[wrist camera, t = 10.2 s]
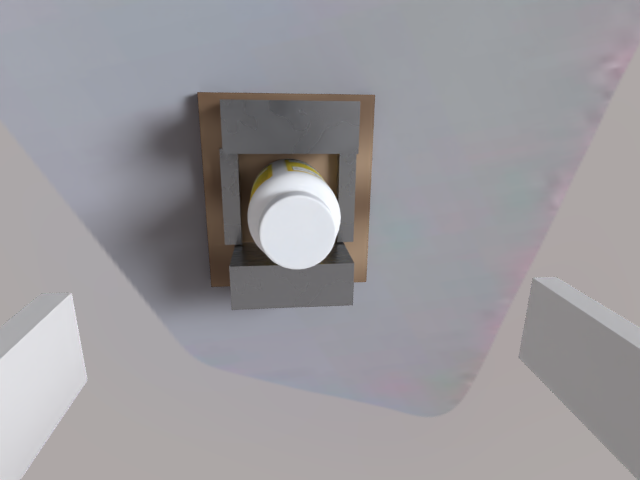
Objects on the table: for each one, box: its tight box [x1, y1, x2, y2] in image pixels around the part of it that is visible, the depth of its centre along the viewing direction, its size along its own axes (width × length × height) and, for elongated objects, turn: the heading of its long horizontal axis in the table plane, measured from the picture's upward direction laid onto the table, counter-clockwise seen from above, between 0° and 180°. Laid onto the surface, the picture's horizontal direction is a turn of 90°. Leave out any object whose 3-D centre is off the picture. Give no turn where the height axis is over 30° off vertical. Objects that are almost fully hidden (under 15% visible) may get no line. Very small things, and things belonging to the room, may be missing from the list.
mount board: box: [197, 92, 375, 287], centre depth 31 cm, size 14×12×1 cm
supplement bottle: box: [248, 159, 341, 270], centre depth 26 cm, size 5×5×10 cm
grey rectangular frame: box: [219, 99, 360, 310], centre depth 28 cm, size 13×9×5 cm
